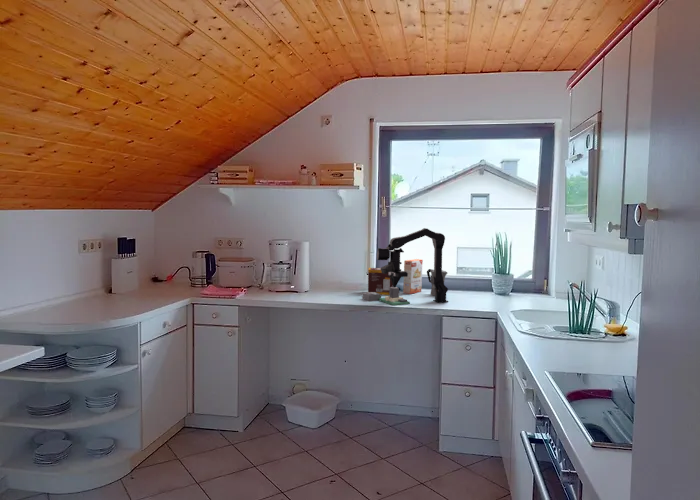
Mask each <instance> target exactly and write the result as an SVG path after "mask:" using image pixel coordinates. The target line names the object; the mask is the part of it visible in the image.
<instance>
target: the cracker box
mask: <svg viewBox="0 0 700 500" xmlns="http://www.w3.org/2000/svg"><path fill="white" fill-rule="evenodd" d="M423 261H424V260H423V259H419V258H418V259H417V258H416V259H415V258H414V259H407V260H404V262H403V263H404V265H403V271H406V272H407V273H408V277H403V285H402V288H403V289H402V293H403V294H408V295H412V294H417V293H420V292H422V284H423V283H422V281H423V264H424V263H423Z"/></svg>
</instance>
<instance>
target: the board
mask: <svg viewBox="0 0 700 500" xmlns="http://www.w3.org/2000/svg"><path fill="white" fill-rule="evenodd" d="M378 301H380V302H382V303H386V304H388V305H391V306H402V305H410V304H411V301H409V300H408V299H405V298H404V297H402V296H400V295H399V298H390V297H389V295H384V297H381V298H379V300H378Z"/></svg>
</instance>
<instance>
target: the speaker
mask: <svg viewBox="0 0 700 500" xmlns="http://www.w3.org/2000/svg"><path fill="white" fill-rule="evenodd" d="M361 297H362V300H364V301H367V302H375V301H379V298H382V295H381V294H379V293H376V292H368V291H367V292H362V294H361Z"/></svg>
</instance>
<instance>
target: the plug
mask: <svg viewBox="0 0 700 500" xmlns="http://www.w3.org/2000/svg"><path fill="white" fill-rule="evenodd" d="M388 296H389V297H390V298H399V296H400V288H399V287H397V286H396V287H390V288H389V295H388Z"/></svg>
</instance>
